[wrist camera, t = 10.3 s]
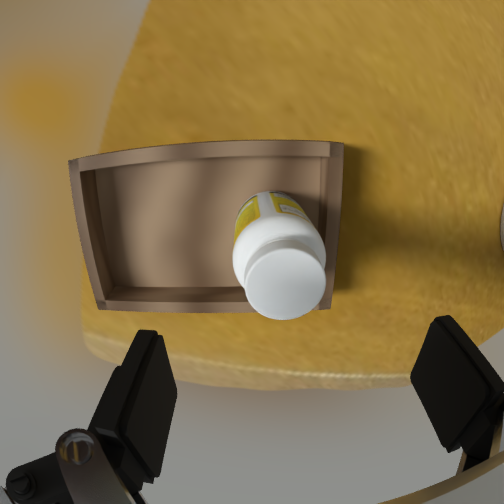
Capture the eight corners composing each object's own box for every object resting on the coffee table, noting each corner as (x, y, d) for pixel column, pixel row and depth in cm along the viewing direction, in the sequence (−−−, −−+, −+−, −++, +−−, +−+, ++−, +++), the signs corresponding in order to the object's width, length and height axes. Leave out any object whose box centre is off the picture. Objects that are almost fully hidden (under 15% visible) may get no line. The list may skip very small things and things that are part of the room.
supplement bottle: (243, 261, 24) (241, 338, 15) (228, 197, 22) (215, 245, 13) (309, 248, 24) (342, 319, 15) (299, 183, 22) (335, 222, 13)
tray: (329, 141, 21) (343, 143, 18) (321, 288, 26) (330, 309, 23) (89, 155, 21) (68, 160, 18) (112, 290, 26) (98, 309, 23)
